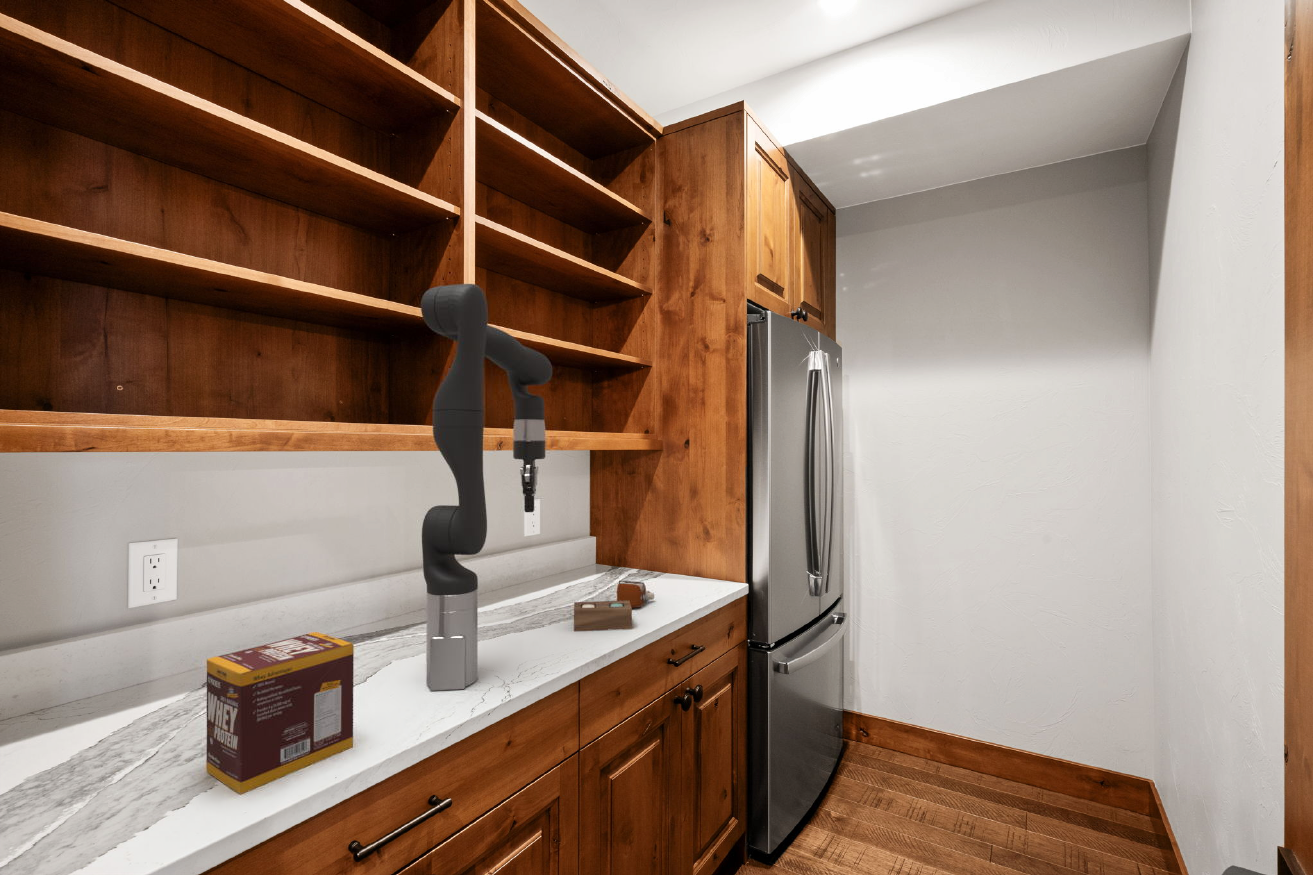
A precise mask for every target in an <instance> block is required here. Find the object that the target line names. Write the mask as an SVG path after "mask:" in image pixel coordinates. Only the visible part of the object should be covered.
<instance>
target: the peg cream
mask: <svg viewBox="0 0 1313 875" xmlns="http://www.w3.org/2000/svg"><path fill="white" fill-rule="evenodd" d="M582 608H594V605H592V604H586V605H583V606H582Z"/></svg>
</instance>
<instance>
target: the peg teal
mask: <svg viewBox="0 0 1313 875" xmlns="http://www.w3.org/2000/svg"><path fill="white" fill-rule="evenodd" d="M611 607H623V605H622V604H619V603H615V604H611Z"/></svg>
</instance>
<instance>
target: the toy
mask: <svg viewBox="0 0 1313 875" xmlns="http://www.w3.org/2000/svg"><path fill="white" fill-rule="evenodd" d="M654 599H655V593H654V592H651V591H649V590H647V588H646V585H645V582H644V581H643V582H641V581H631V580H630V581H629V580H619V581H618V583H617V587H616V601H628V600H629V601H630V604H631V608H632V609H633V608H635V609H636V608H641V607H643V605H645V601H647V600H654Z"/></svg>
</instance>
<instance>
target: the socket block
mask: <svg viewBox="0 0 1313 875" xmlns="http://www.w3.org/2000/svg"><path fill="white" fill-rule="evenodd" d="M615 603H619V604H622V605H623V607H611V604H615ZM586 604H592V605H594V608H582V606H583V605H586ZM573 605H574V606H573V632H591V631H592V632H593V631H594V632H595V630H596V631H609V630H608V629H623V630H632V628H633V618H632V617H633V607H631V604H630V601H629V600H628V601H617V600H607V601H606V600H603V601H576V602H575V601H574V602H573Z"/></svg>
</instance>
